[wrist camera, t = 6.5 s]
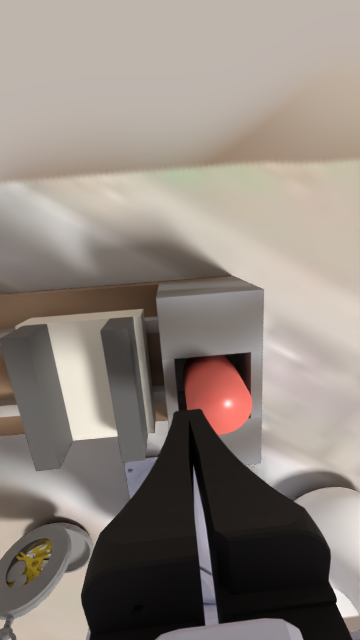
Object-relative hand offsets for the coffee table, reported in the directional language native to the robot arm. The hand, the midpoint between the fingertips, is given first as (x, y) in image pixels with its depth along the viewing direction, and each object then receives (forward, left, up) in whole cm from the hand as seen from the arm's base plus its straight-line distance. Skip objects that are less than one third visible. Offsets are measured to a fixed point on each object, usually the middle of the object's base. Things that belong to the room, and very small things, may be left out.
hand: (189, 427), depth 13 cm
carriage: (0, +6, -8) cm, 10 cm away
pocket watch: (-20, +14, -11) cm, 27 cm away
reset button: (0, -2, -6) cm, 6 cm away
